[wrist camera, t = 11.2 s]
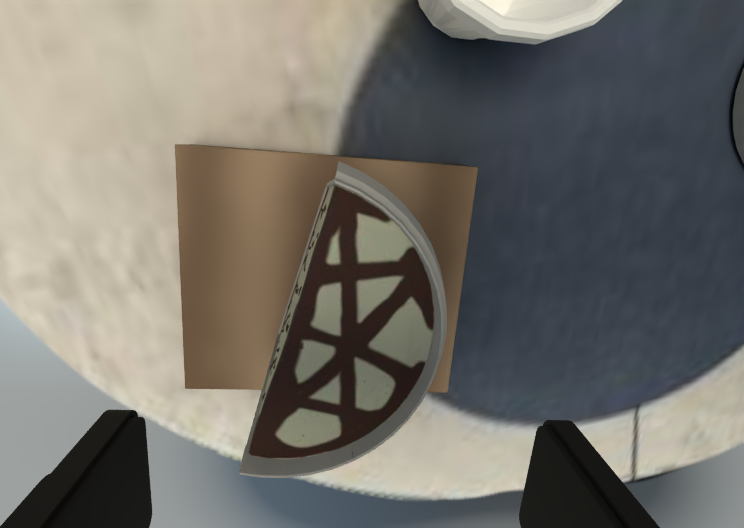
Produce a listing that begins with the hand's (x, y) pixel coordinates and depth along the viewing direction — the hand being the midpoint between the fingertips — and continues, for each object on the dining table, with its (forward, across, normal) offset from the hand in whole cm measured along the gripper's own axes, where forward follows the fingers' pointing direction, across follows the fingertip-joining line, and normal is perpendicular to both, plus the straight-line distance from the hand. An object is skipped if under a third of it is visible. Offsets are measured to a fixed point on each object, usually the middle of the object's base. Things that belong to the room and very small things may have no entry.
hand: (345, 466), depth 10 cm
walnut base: (+18, +1, 0) cm, 18 cm away
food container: (+15, -1, 0) cm, 15 cm away
